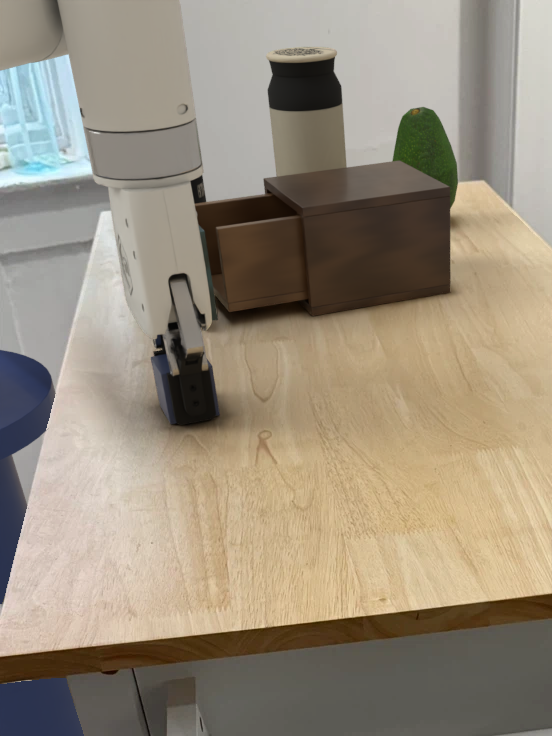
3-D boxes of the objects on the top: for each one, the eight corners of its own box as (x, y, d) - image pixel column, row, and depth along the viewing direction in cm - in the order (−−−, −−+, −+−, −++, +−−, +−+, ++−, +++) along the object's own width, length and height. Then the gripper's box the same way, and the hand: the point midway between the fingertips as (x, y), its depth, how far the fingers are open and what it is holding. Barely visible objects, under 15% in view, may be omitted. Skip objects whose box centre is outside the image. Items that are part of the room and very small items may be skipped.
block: (170, 424, 79) (160, 374, 77) (159, 405, 82) (150, 356, 79) (219, 415, 80) (212, 365, 78) (207, 396, 83) (200, 348, 81)
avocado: (389, 216, 123) (384, 102, 116) (452, 212, 124) (452, 98, 116) (396, 234, 117) (392, 115, 110) (463, 230, 118) (464, 111, 110)
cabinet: (312, 316, 97) (302, 207, 91) (274, 279, 106) (263, 178, 100) (450, 292, 101) (450, 186, 95) (403, 258, 110) (399, 160, 104)
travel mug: (307, 248, 114) (290, 59, 103) (269, 234, 119) (249, 52, 108) (364, 234, 118) (354, 50, 106) (325, 220, 123) (311, 43, 111)
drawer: (160, 329, 93) (143, 239, 88) (136, 293, 101) (119, 209, 96) (341, 299, 98) (335, 211, 93) (305, 267, 106) (297, 185, 101)
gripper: (71, 135, 74) (123, 379, 86) (111, 186, 62) (165, 461, 74) (172, 124, 76) (209, 364, 88) (230, 171, 64) (263, 441, 76)
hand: (188, 406), depth 81 cm, fingers closed on block, 4 cm apart
